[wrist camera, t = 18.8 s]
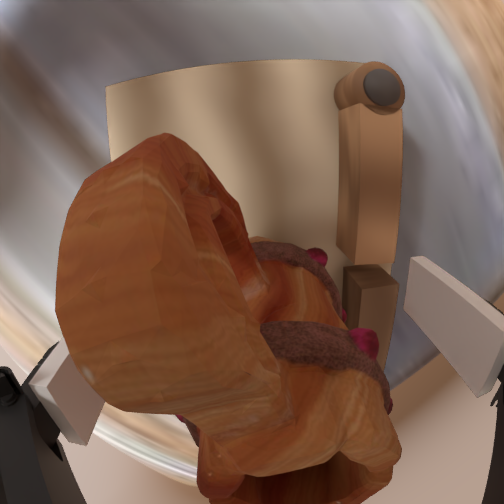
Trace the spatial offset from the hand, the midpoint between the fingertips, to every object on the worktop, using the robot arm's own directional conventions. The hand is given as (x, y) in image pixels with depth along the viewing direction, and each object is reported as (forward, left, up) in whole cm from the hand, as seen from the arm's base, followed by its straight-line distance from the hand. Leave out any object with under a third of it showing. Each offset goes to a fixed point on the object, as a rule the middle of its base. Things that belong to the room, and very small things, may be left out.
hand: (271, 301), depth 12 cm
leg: (+6, +5, -7) cm, 11 cm away
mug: (-1, 0, -7) cm, 7 cm away
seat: (0, 0, -8) cm, 8 cm away
